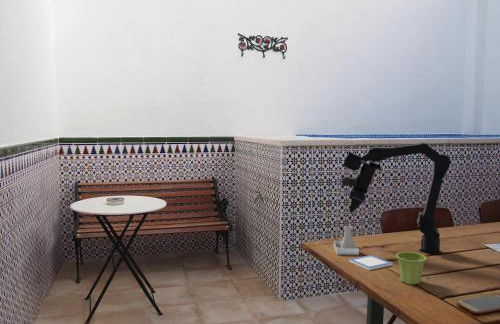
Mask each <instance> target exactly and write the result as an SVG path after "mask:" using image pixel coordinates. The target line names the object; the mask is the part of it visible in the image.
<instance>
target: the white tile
mask: <svg viewBox="0 0 500 324" xmlns="http://www.w3.org/2000/svg"><path fill="white" fill-rule="evenodd" d="M348 263H352V264H353V265H356V266H358V267H360V268H363V269H365V270H367V271H371V270H377V269H381V268H386V267H391V266H393V262H390V261H388V260H385V259H382V258H381V257H377V256H374V255H372V254H369V255H365V256H364V255H363V256H359V257H355V258H348Z"/></svg>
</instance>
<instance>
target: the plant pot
mask: <svg viewBox="0 0 500 324" xmlns="http://www.w3.org/2000/svg"><path fill="white" fill-rule="evenodd" d="M396 257H397V261H398V267H399V276H400V278H399V279H400V282H403V283H404V284H407V285H418V284H420V283H421V280H422V275H423V268H424V265H425V262H426V261H427V256H426V255H424V254H422V253H419V252H415V251H414V252H413V251H400V252H398V253H396Z"/></svg>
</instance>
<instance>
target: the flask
mask: <svg viewBox="0 0 500 324" xmlns="http://www.w3.org/2000/svg"><path fill="white" fill-rule="evenodd" d="M343 228H344V233H343V234H344V235H343V238H342V240H341V241H342V243H341V246H340V247H339V248H357V247H356V243H355V244H354V241H355V240H354V238H353V234H352V233H353V232H352V229H353V226H351V225H344V227H343Z"/></svg>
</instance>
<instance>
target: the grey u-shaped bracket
mask: <svg viewBox="0 0 500 324" xmlns="http://www.w3.org/2000/svg"><path fill="white" fill-rule="evenodd" d="M353 241H354V244H355V245H356V243H355V242H356V241H355V240H353ZM341 243H342V240H333V249H334V251H335V253H336V255H340V256H359V255H360V251H359V250H360V249H359V247H356V248H340V246H341Z"/></svg>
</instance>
